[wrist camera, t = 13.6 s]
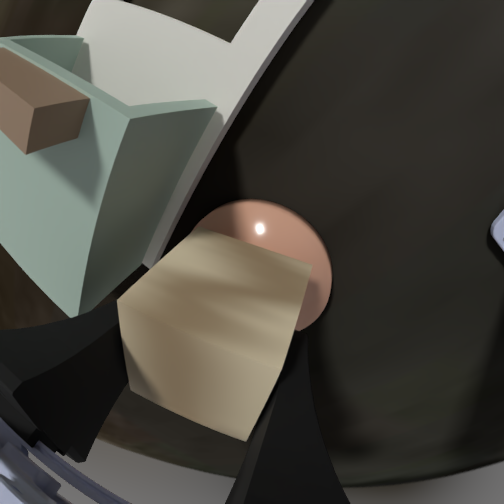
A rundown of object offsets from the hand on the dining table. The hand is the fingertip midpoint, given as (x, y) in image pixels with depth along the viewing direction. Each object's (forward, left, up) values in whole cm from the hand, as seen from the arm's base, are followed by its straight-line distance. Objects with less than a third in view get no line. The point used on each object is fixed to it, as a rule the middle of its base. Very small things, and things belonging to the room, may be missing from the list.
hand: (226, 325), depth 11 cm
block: (0, 0, -2) cm, 2 cm away
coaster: (0, 0, -4) cm, 4 cm away
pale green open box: (+9, -1, -3) cm, 10 cm away
